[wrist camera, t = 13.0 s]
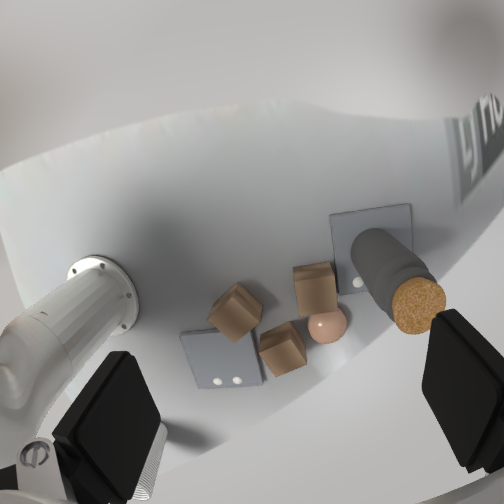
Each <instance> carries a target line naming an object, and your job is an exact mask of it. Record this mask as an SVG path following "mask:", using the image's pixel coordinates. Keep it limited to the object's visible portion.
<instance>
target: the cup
mask: <svg viewBox="0 0 504 504" xmlns="http://www.w3.org/2000/svg"><path fill="white" fill-rule="evenodd" d="M167 434H168V430H167V428H166V426H165V425H164V424H163V423H162V422H160V426H159V428H158V431H157V433H156V436H155V439H154V441H153V444H152V447H151V449H150V452H149V454H148V457H147V460H146V462H145V465H144V468H143V470H142V473H141V476H140V478H139V481H138V484H137V487H136V489H135V492H134V495H133V497H132V499H135V500H141V501H145V500H149V499H150V498H151V495H152V492H153V487H154V484H155V479H156V476H157V472H158V468H159V464H160V460H161V457H162V453H163V449H164V445H165V441H166V438H167Z"/></svg>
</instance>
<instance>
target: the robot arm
mask: <svg viewBox="0 0 504 504" xmlns="http://www.w3.org/2000/svg"><path fill="white" fill-rule="evenodd" d="M138 310H139V303H138V297H137V293H136V290H135V288H134V286H133V283H132V282H131V280H130V279H129V277H128V276H127V274H126V273H125V272H124V271H123V270H122V269H121V268H120V267H119V266H118V265H116V264H115V263H113V262H112V261H110V260H108V259H106V258H103V257H99V256H87V257H84V258H82V259H80V260H79V261H77V262H76V263H75V264H73V265H72V267H71V268H70V270H69V272H68V275H67V280H66V282H65V283H64V284H62V285H61V286H59V287H58V288H56V289H55V290H54V291H52V292H51V293H49V294H48V295H46V296H45V297H44V298H42V299H41V300H40V301H38V302H37V303H35V304H34V305H33V306H31V307H30V308H29V309H27V310H26V311H25V312H23V313H22V314H21V315H19V316H18V317H17V318H15V319H14V320H13V321H11V322H10V323H9V324H8V325H7V326H6V327H5V329H4V330H3V332H2V334H1V336H0V504H108V503H110V504H126V503H127V500H130V499H131V498H132V497H133V495H134V492H135V489H136V487H137V484H138V481H139V478H140V476H141V473H142V470H143V468H144V465H145V462H146V460H147V457H148V454H149V452H150V449H151V447H152V444H153V441H154V439H155V436H156V433H157V431H158V428H159V426H160V422H161V417H160V413H159V411H158V409H157V407H156V405H155V403H154V400H153V398H152V396H151V394H150V392H149V389H148V387H147V385H146V382H145V380H144V378H143V375H142V373H141V370H140V368H139V366H138V363H137V361H136V358H135V357H134V356H132V355H131V354H130V353H129V352H127V351H112V352H110V353H109V354H108V356H107V357H106V358H105V360H104V361H103V362H102V364H101V365H100V366H99V368H98V369H97V370H96V372H95V373H94V374H93V376H92V377H91V378H90V380H89V381H88V383H87V384H86V385H85V387H84V388H83V389H82V391H81V392H80V394H79V395H78V396H77V398H76V399H75V401H74V402H73V403H72V405H71V406H70V408H69V409H68V411H67V412H66V413H65V415H64V416H63V418H62V419H61V420H60V422H59V424H58V425H57V426H56V428H55V429H54V431H53V432H52V435H53V437H54V438H55V441H54V443H52V442H51V441H50V440H49V439H46V438H41V437H38V438H35V437H36V435H37V433H38V430H39V428H40V426H41V424H42V422H43V420H44V418H45V417H46V415H47V413H48V411H49V410H50V408H51V407H52V405H53V404H54V402H55V401H56V400H57V398H58V397H59V396H60V394H61V393H62V392H63V391H64V389H65V388H66V387H67V386H68V384H69V383H70V382H71V381H72V380H73V378H74V377H75V376H76V375H77V374H78V372H79V371H80V370H81V369H82V368H83V366H84V365H85V364H86V363H87V362H88V360H89V359H90V358H91V357H92V356H93V354H94V353H95V352H96V351H97V350H98V349H99V347H100V346H101V345H102V344H103V343H104V342H105V340H106V339H107V338H108V337H109V336H116V335H120V334H123V333H125V332H126V331H128V330H129V329H130V328H131V327H132V325H133V324H134V322H135V321H136V319H137V316H138ZM422 392H423V394H424V396H425V398H426V400H427V402H428V404H429V405H430V407H431V409H432V411H433V413H434V415H435V417H436V419H437V421H438V422H439V424H440V426H441V428H442V430H443V432H444V434H445V436H446V438H447V440H448V442H449V444H450V446H451V448H452V450H453V452H454V454H455V456H456V458H457V460H458V462H459V464H460V466H461V467H466V469H467V471H468V473H472V472H474V471H476V470H478V469H480V468H482V467H483V468H484V470H485V472H486V474H485V477H484V478H481V479H479V480H477V481H474V482H472V483H470V484H467V485H465V486H463V487H461V488H458V489H455V490H453V491H450V492H448V493H445V494H443V495H440V496H437V497H435V498H432V499H429V500H426V501H423V502H421V503H418V504H504V358H503V356H502V355H501V354H500V353H499V352H498V351H497V350H496V349H495V348H494V347H493V346H492V345H491V344H490V343H489V342H488V341H487V340H486V339H485V338H484V337H483V336H482V335H481V334H480V333H479V332H478V331H477V330H476V329H475V328H474V327H473V326H472V325H471V324H470V323H469V322H468V321H467V320H466V319H465V318H464V317H463V316H462V315H461V314H460V313H459V312H458V311H457V310H455V309H449V310H445V311H441V312H438V313H437V314H436V317H435V318H433V319H432V321H431V329H430V336H429V344H428V351H427V357H426V363H425V370H424V374H423V380H422Z"/></svg>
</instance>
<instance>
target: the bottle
mask: <svg viewBox="0 0 504 504" xmlns="http://www.w3.org/2000/svg"><path fill="white" fill-rule="evenodd" d="M351 260H352V263H353V265H354V267H355V268H356V270H357V272H358V273H359V275H360V277H361V278H362V280H363V282H364V284H365V285H366V287H367V289H368V290H369V292H370V294H371V295H372V297H373V299H374V300H375V302H376V303H377V305H378V306H379V307H380V308H381V309H382V310H383V311H385V312H386V313H387V315H388V316H389V318H390V319H391V320H392V321H394V322H395V323H396V325H397V326H398V328H399V329H400V330H401V331H403V332H404V333H407V334H420V333H423V332H426V331H428V330H429V329H431V321H432V319H433V318H435V317H436V314H437V313H438V312H441V311H444V310H445V306H446V296H445V293H444V291H443V289H442V288H441V286H440V285H438V284H437V282H436V279H435V278H434V277H433V276H432V275H431V274H430V273H429V271H428V268H427V267H426V265H425V264H424V262H423V261H422V260H421V259H419V258H418V257H417V256H416V255H415V254H414V253H413V252H411V251H410V250H409V249H408V248H407V247H405V246H404V245H403V244H402V243H400V242H399V241H398V240H397V239H396V238H394V237H393V236H392V235H390V234H389V233H388V232H386V231H384V230H382V229H378V228H371V229H367V230H365V231H363V232H362V233H360V234H359V235H358V236H357V237H356V238H355V240H354V242H353V244H352V246H351Z"/></svg>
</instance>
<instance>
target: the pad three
mask: <svg viewBox="0 0 504 504" xmlns="http://www.w3.org/2000/svg"><path fill="white" fill-rule="evenodd" d="M329 217H330V224H331V232H332V239H333V248H334V256H335V265H336V274H337V284H338V293H339V296H340V295H345V294H351V293H357V292H363V291H368V289H367V287H366V285H365V284H364V282H363V280H362V278H361V277H360V275H359V273H358V272H357V270H356V268H355V267H354V265H353V263H352V260H351V246H352V244H353V242H354V240H355V238H356V237H357V236H358V235H359V234H360V233H362V232H363V231H365V230H367V229H371V228H378V229H382V230H384V231H386V232H388V233H389V234H390V235H392V236H393V237H394V238H396V239H397V240H398V241H399V242H400V243H402V244H403V245H404V246H405V247H407V248H408V249H409V250H410V251H411V252H413V249H412V227H411V211H410V205H409V204H401V205H394V206H387V207H380V208H373V209H366V210H359V211H352V212H346V213H339V214H333V215H329Z"/></svg>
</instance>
